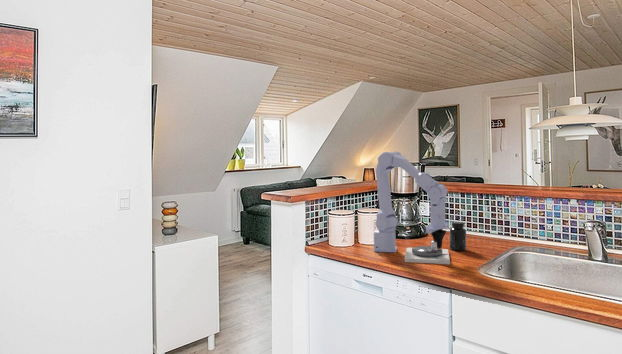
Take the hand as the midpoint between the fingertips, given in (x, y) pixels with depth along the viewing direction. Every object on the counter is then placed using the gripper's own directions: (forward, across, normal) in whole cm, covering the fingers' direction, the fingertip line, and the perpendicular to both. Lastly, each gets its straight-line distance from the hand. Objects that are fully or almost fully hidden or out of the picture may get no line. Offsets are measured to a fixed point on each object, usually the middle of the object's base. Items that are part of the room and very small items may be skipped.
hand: (438, 247), depth 153 cm
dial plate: (+5, 0, +5) cm, 7 cm away
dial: (+3, 0, +5) cm, 6 cm away
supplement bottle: (+5, +19, +1) cm, 20 cm away
